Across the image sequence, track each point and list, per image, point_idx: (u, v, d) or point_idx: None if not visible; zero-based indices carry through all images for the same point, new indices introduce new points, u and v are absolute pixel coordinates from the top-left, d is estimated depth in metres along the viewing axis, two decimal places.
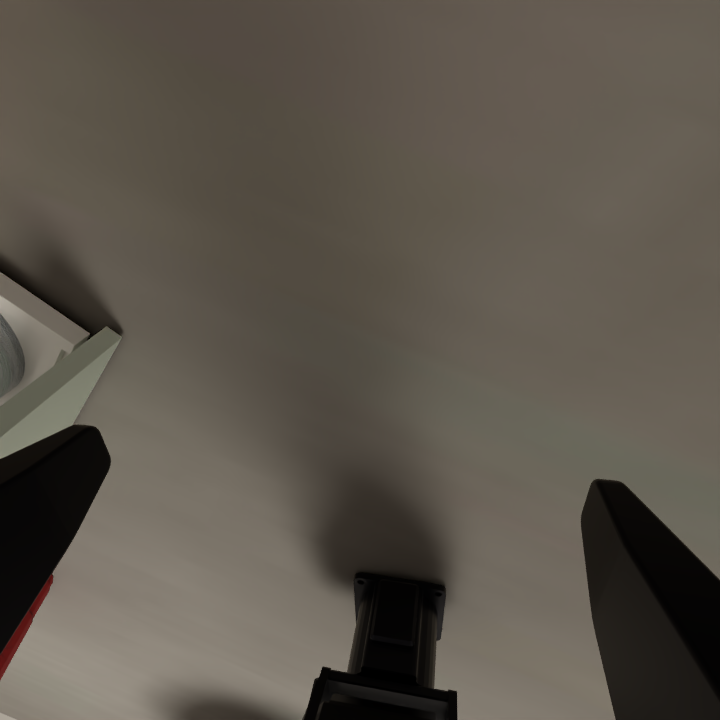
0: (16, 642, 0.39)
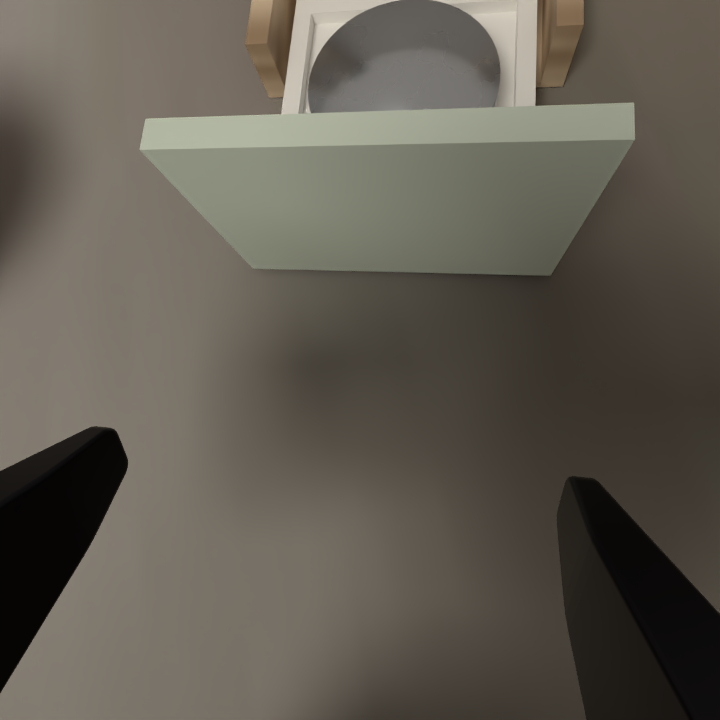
0: None
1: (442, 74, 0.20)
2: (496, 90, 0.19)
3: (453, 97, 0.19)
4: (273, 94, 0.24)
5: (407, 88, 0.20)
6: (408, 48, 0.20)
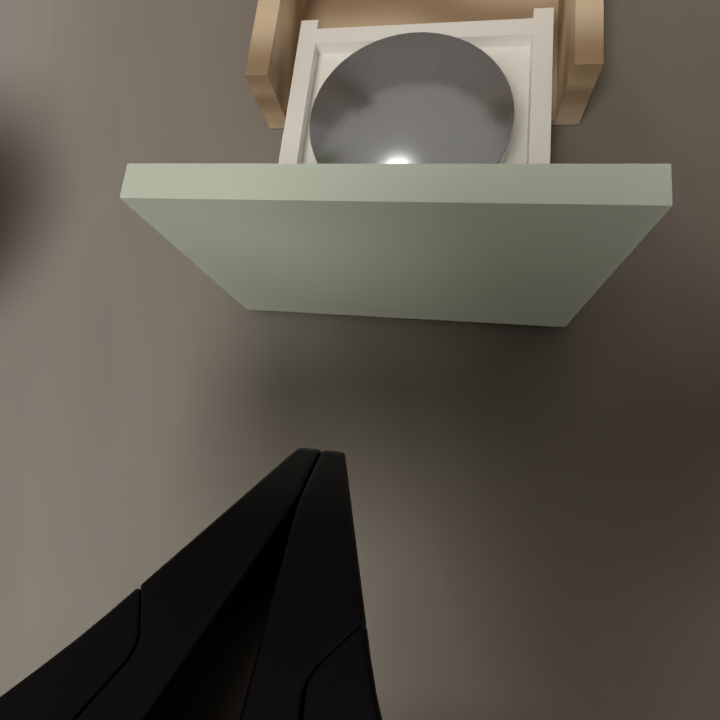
0: None
1: (452, 112, 0.19)
2: (510, 130, 0.18)
3: (464, 136, 0.18)
4: (273, 125, 0.23)
5: (415, 125, 0.19)
6: (416, 83, 0.19)
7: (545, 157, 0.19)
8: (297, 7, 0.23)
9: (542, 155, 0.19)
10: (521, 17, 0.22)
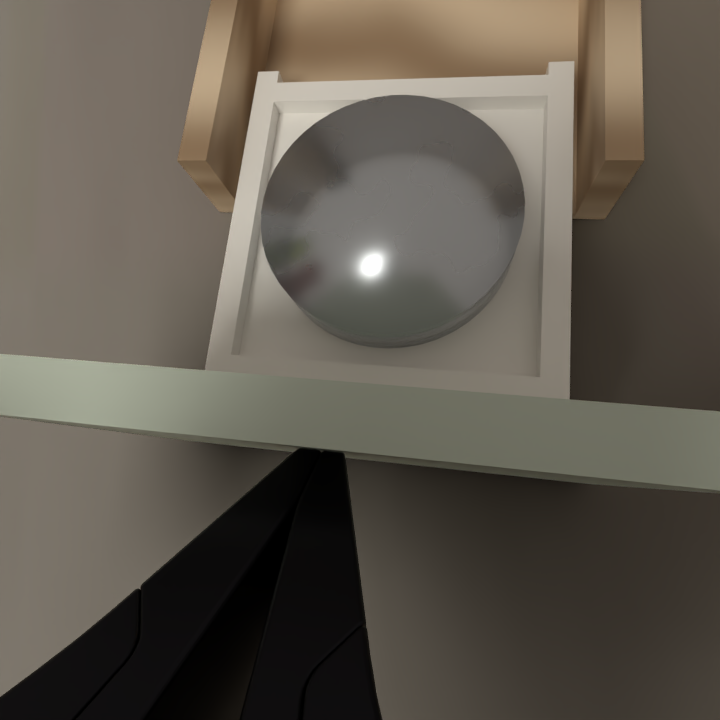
0: None
1: (444, 202, 0.14)
2: (519, 230, 0.14)
3: (460, 236, 0.14)
4: (223, 209, 0.18)
5: (396, 220, 0.14)
6: (398, 163, 0.15)
7: (565, 262, 0.14)
8: (253, 63, 0.18)
9: (561, 259, 0.14)
10: None
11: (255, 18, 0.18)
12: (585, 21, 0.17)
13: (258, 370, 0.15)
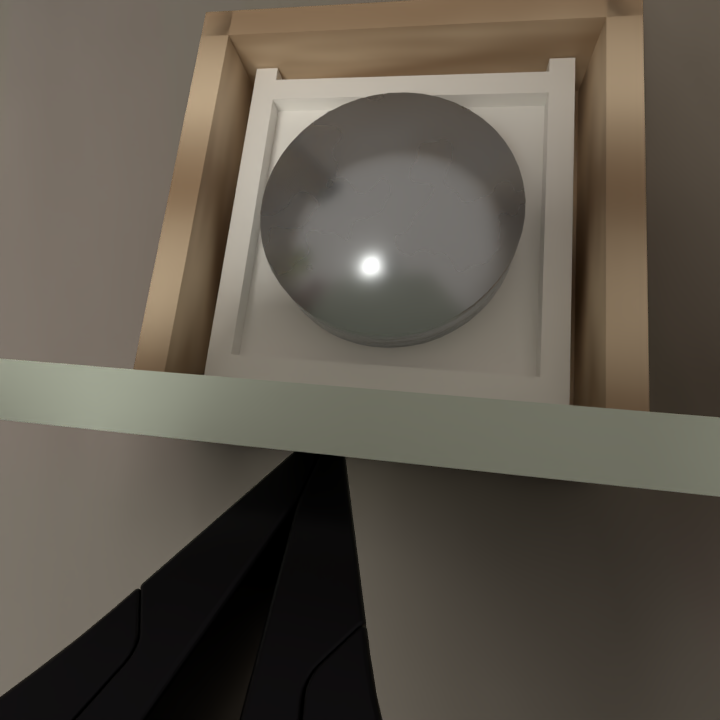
0: None
1: (444, 201, 0.14)
2: (520, 228, 0.14)
3: (461, 235, 0.14)
4: None
5: (396, 219, 0.14)
6: (397, 161, 0.15)
7: (565, 261, 0.14)
8: (218, 249, 0.17)
9: (561, 258, 0.14)
10: None
11: (220, 201, 0.17)
12: (584, 222, 0.15)
13: (258, 370, 0.15)
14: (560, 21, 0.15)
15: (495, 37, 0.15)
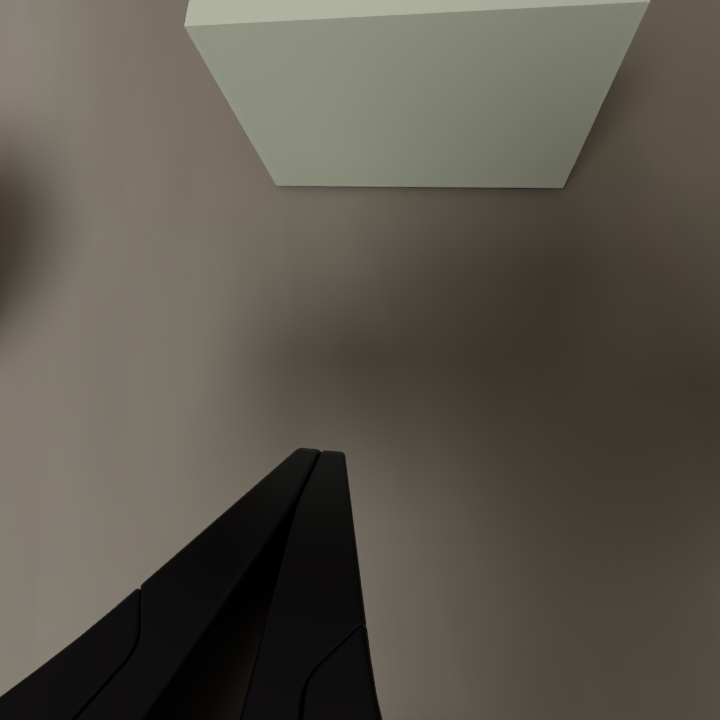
0: None
1: None
2: None
3: None
4: None
5: None
6: None
7: None
8: None
9: None
10: None
11: None
12: None
13: None
14: None
15: None
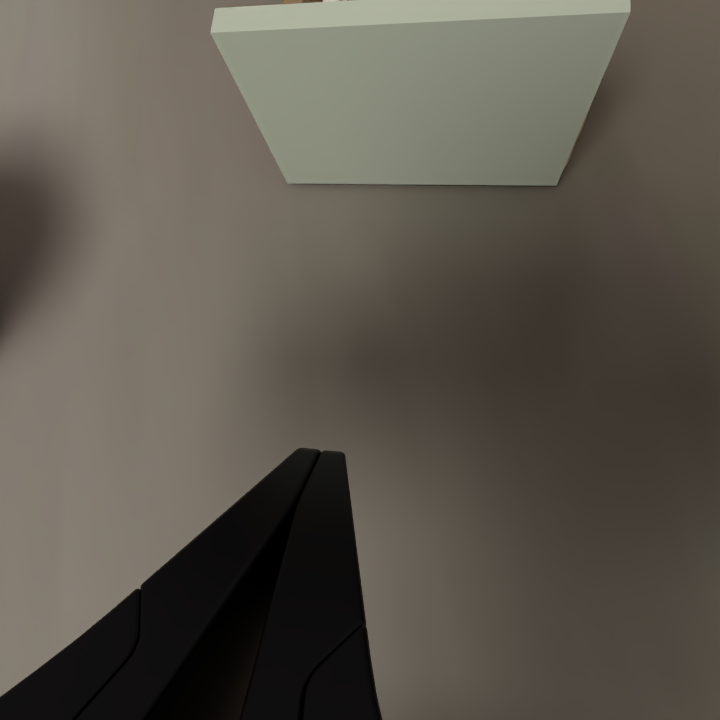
0: None
1: None
2: None
3: None
4: None
5: None
6: None
7: None
8: None
9: None
10: None
11: None
12: None
13: None
14: None
15: None
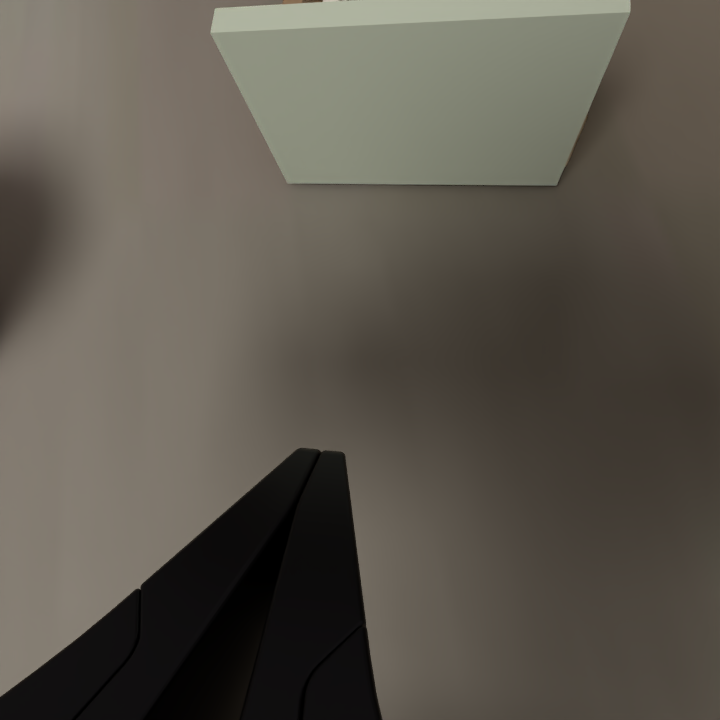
0: None
1: None
2: None
3: None
4: None
5: None
6: None
7: None
8: None
9: None
10: None
11: None
12: None
13: None
14: None
15: None
